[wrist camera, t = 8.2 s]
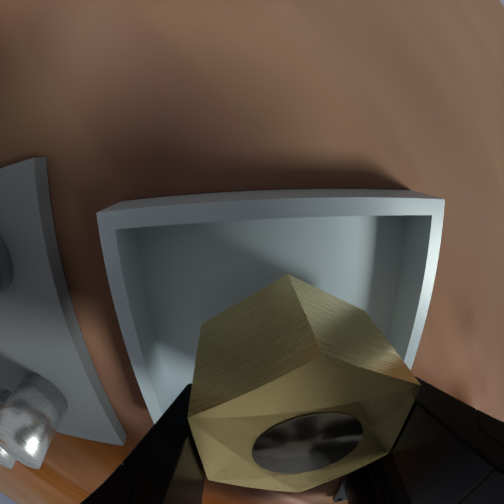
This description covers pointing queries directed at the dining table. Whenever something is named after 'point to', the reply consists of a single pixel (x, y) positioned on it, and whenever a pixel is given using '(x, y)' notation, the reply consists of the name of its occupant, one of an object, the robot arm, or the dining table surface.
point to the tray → (262, 265)
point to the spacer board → (45, 309)
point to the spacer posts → (27, 405)
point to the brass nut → (295, 390)
